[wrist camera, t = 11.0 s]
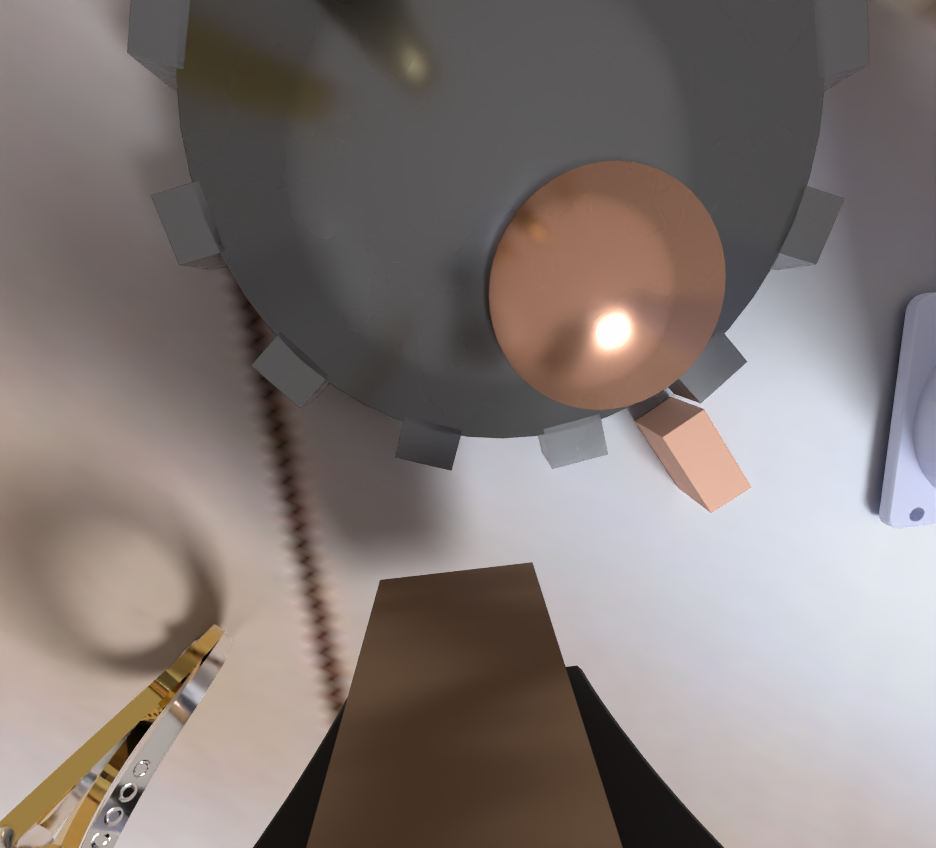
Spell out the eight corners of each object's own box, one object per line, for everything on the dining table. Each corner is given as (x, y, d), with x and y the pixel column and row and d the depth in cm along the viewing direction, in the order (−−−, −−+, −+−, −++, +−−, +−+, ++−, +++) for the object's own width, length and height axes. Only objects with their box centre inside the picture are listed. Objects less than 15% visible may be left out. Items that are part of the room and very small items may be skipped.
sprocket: (509, -518, 9) (578, -1535, 4) (934, 156, 12) (1255, 51, 7) (36, 149, 11) (-275, 25, 6) (495, 556, 15) (517, 675, 10)
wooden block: (532, 562, 11) (653, 949, 4) (545, 715, 13) (656, 1206, 6) (380, 580, 11) (265, 995, 4) (407, 731, 13) (351, 1244, 6)
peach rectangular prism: (634, 421, 15) (662, 437, 13) (670, 396, 15) (704, 409, 13) (678, 487, 15) (711, 512, 13) (713, 465, 15) (751, 487, 13)
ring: (177, 728, 17) (-51, 1071, 9) (107, 680, 16) (-200, 1006, 9) (296, 617, 16) (150, 899, 8) (225, 563, 15) (-3, 812, 8)
